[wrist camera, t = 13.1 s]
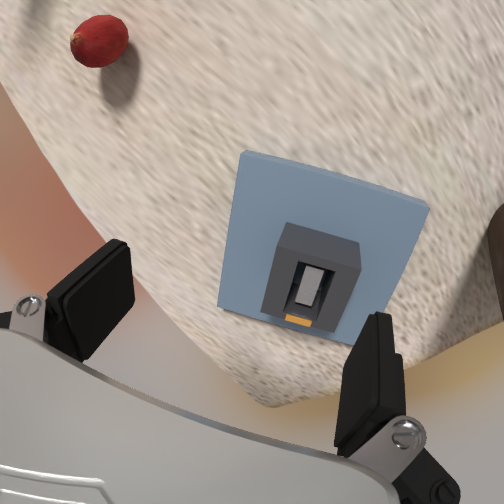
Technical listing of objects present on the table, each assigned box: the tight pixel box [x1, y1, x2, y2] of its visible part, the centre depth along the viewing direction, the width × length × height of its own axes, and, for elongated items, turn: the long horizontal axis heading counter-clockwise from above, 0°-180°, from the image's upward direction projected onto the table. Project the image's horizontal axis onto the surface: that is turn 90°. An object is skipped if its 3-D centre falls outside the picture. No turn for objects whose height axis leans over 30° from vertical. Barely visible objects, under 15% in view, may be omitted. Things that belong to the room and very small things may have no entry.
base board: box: [217, 150, 430, 346], centre depth 32 cm, size 18×18×2 cm
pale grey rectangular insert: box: [295, 263, 324, 306], centre depth 30 cm, size 2×4×4 cm, turn 170°
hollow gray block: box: [260, 222, 362, 333], centre depth 29 cm, size 7×7×5 cm
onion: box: [70, 15, 129, 68], centre depth 23 cm, size 6×6×8 cm
